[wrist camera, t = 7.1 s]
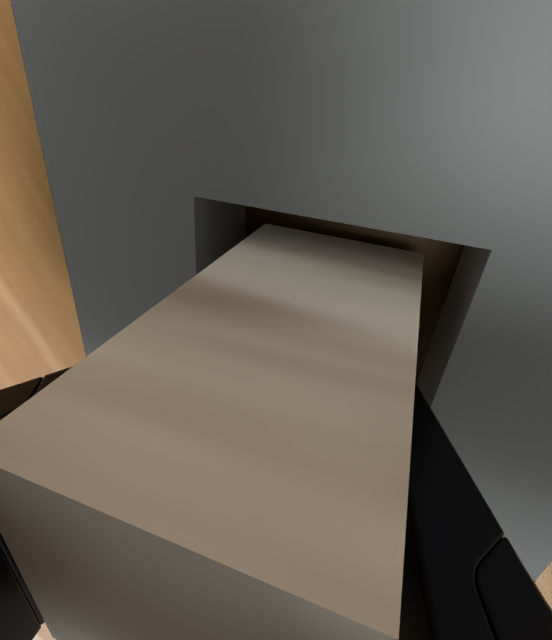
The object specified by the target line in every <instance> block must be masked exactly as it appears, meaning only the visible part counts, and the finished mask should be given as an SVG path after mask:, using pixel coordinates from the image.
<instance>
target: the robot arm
mask: <svg viewBox="0 0 552 640" xmlns="http://www.w3.org/2000/svg"><path fill="white" fill-rule="evenodd" d="M70 368H72V367H70ZM70 368H67V369H64V370H60V371H57V372H54V373H51V374H48V375H45V376H44V378H42V377H39V378H36V379H33V380H30V381H27V382H24V383H21V384H17V385H14V386H11V387H8V388H4V389H1V390H0V420H2V419H3V418H4V417H6V416H7V415H9V414H10V413H11V412H13V411H14V410H15V409H17V408H18V407H19V406H21V405H22V404H23V403H25V402H26V401H27V400H29V399H30V398H31V397H33V396H34V395H35V394H37V393H38V392H39V391H41V390H42V389H43V388H45V387H46V386H48V385H49V384H50V383H52V382H53V381H54V380H56V379H57V378H58V377H60V376H61V375H62V374H64V373H65V372H66V371H68V370H69V369H70ZM504 535H505V534H504V531H503V530H502V528H501V526H500V525H499V523H498V521H497V519H496V518H495V516H494V514H493V513H492V511H491V509H490V508H489V506H488V504H487V503H486V501H485V499H484V497H483V496H482V494H481V492H480V491H479V489H478V487H477V486H476V484H475V482H474V480H473V479H472V477H471V475H470V474H469V472H468V470H467V469H466V467H465V465H464V463H463V462H462V460H461V458H460V457H459V455H458V453H457V452H456V450H455V448H454V447H453V445H452V443H451V441H450V440H449V438H448V436H447V435H446V433H445V431H444V430H443V428H442V426H441V424H440V423H439V421H438V419H437V418H436V416H435V414H434V413H433V411H432V409H431V407H430V406H429V404H428V402H427V401H426V399H425V397H424V396H423V394H422V392H421V390H420V389H419V387H418V386H417V385H415V395H414V410H413V425H412V441H411V456H410V472H409V487H408V503H407V518H406V533H405V549H404V564H403V580H402V595H401V611H400V626H399V640H552V609H551V608H550V606H549V605H548V603H547V602H546V600H545V599H544V597H543V595H542V594H541V592H540V591H539V589H538V587H537V586H536V584H535V582H534V581H533V579H532V578H531V576H530V574H529V573H528V571H527V570H526V568H525V566H524V565H523V563H522V561H521V560H520V558H519V556H518V555H517V553H516V551H515V550H514V548H513V546H512V545H511V543H510V541H509V539H508V538H506V537H504ZM44 622H45V621H44V619H43V617H42V615H41V613H40V611H39V609H38V607H37V605H36V603H35V601H34V599H33V597H32V595H31V593H30V591H29V589H28V587H27V585H26V583H25V581H24V579H23V577H22V575H21V573H20V571H19V569H18V567H17V565H16V563H15V561H14V559H13V557H12V555H11V553H10V551H9V549H8V547H7V545H6V543H5V541H4V539H3V537H2V535H1V533H0V640H32V639H33V638H34V637H35V635H36V634H37V632H38V631H39V629H40V628H41V625H40V624H43V623H44Z"/></svg>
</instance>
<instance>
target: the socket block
mask: <svg viewBox="0 0 552 640" xmlns="http://www.w3.org/2000/svg"><path fill="white" fill-rule="evenodd" d="M11 5H12V9H13V14H14V19H15V23H16V28H17V33H18V38H19V42H20V47H21V52H22V56H23V61H24V66H25V70H26V75H27V80H28V85H29V89H30V94H31V99H32V103H33V108H34V113H35V118H36V122H37V127H38V132H39V136H40V141H41V146H42V151H43V155H44V160H45V165H46V169H47V174H48V179H49V184H50V188H51V193H52V198H53V202H54V207H55V212H56V216H57V221H58V226H59V231H60V235H61V240H62V245H63V249H64V254H65V259H66V264H67V268H68V273H69V278H70V282H71V287H72V292H73V297H74V301H75V306H76V311H77V315H78V320H79V325H80V330H81V334H82V339H83V344H84V348H85V353H86V357H87V356H88V355H89V354H91V353H92V352H93V351H95V350H96V349H97V348H99V347H100V346H101V345H103V344H104V343H105V342H107V341H108V340H109V339H111V338H112V337H113V336H115V335H116V334H117V333H119V332H120V331H122V330H123V329H124V328H126V327H127V326H128V325H130V324H131V323H132V322H134V321H135V320H136V319H138V318H139V317H140V316H142V315H143V314H144V313H146V312H147V311H148V310H150V309H151V308H152V307H154V306H155V305H156V304H158V303H159V302H161V301H162V300H163V299H165V298H166V297H167V296H169V295H170V294H171V293H173V292H174V291H175V290H177V289H178V288H179V287H181V286H182V285H183V284H185V283H186V282H187V281H189V280H190V279H191V278H193V277H194V276H195V275H197V274H198V273H200V272H201V271H202V270H204V269H205V268H206V267H208V266H209V265H210V264H212V263H213V262H214V261H216V260H217V259H218V258H220V257H221V256H222V255H224V254H225V253H226V252H228V251H229V250H230V249H232V248H233V247H235V246H236V245H237V244H239V243H240V242H241V241H243V240H244V239H245V230H246V206H250V207H256V208H261V209H267V210H272V211H278V212H283V213H289V214H294V215H300V216H306V217H311V218H317V219H322V220H328V221H333V222H339V223H344V224H350V225H355V226H361V227H367V228H372V229H378V230H383V231H389V232H394V233H400V234H405V235H411V236H416V237H422V238H428V239H433V240H439V241H444V242H450V243H455V244H461V245H464V248H463V251H462V254H461V256H460V259H459V262H458V265H457V268H456V271H455V274H454V277H453V279H452V282H451V285H450V288H449V291H448V294H447V297H446V300H445V302H444V305H443V308H442V311H441V314H440V317H439V320H438V323H437V325H436V328H435V331H434V334H433V337H432V340H431V343H430V346H429V348H428V351H427V354H426V357H425V360H424V363H423V366H422V369H421V371H420V374H419V377H418V380H417V383H416V385H417V386H418V387H419V389H420V390H421V392H422V394H423V396H424V397H425V399H426V401H427V402H428V404H429V406H430V407H431V409H432V411H433V413H434V414H435V416H436V418H437V419H438V421H439V423H440V424H441V426H442V428H443V430H444V431H445V433H446V435H447V436H448V438H449V440H450V441H451V443H452V445H453V447H454V448H455V450H456V452H457V453H458V455H459V457H460V458H461V460H462V462H463V463H464V465H465V467H466V469H467V470H468V472H469V474H470V475H471V477H472V479H473V480H474V482H475V484H476V486H477V487H478V489H479V491H480V492H481V494H482V496H483V497H484V499H485V501H486V503H487V504H488V506H489V508H490V509H491V511H492V513H493V514H494V516H495V518H496V519H497V521H498V523H499V525H500V526H501V528H502V530H503V531H504V534H505V535H504V537H506V538H508V539H509V541H510V543H511V545H512V546H513V548H514V550H515V551H516V553H517V555H518V556H519V558H520V560H521V561H522V563H523V565H524V566H525V568H526V570H527V571H528V573H529V574H530V576H531V578H532V579H533V581H534V582H535V581H536V579H537V578H538V577H539V576H540V575H541V573H542V572H543V571H544V570H545V569H546V568H547V566H548V565H549V564H550V563H551V562H552V0H11Z"/></svg>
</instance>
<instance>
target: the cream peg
mask: <svg viewBox="0 0 552 640" xmlns="http://www.w3.org/2000/svg"><path fill="white" fill-rule="evenodd" d="M423 256H424V254H423V253H418V252H412V251H407V250H402V249H397V248H391V247H386V246H381V245H375V244H370V243H365V242H360V241H354V240H349V239H344V238H339V237H333V236H328V235H323V234H317V233H312V232H307V231H302V230H296V229H291V228H286V227H281V226H275V225H270V224H264V225H263V226H261V227H260V228H259V229H257V230H256V231H255V232H253V233H252V234H251V235H249V236H248V237H247V238H245V239H244V240H243V241H241V242H240V243H239V244H237V245H236V246H235V247H233V248H232V249H230V250H229V251H228V252H226V253H225V254H224V255H222V256H221V257H220V258H218V259H217V260H216V261H214V262H213V263H212V264H210V265H209V266H208V267H206V268H205V269H204V270H202V271H201V272H200V273H198V274H197V275H195V276H194V277H193V278H191V279H190V280H189V281H187V282H186V283H185V284H183V285H182V286H181V287H179V288H178V289H177V290H175V291H174V292H173V293H171V294H170V295H169V296H167V297H166V298H165V299H163V300H162V301H161V302H159V303H158V304H156V305H155V306H154V307H152V308H151V309H150V310H148V311H147V312H146V313H144V314H143V315H142V316H140V317H139V318H138V319H136V320H135V321H134V322H132V323H131V324H130V325H128V326H127V327H126V328H124V329H123V330H122V331H120V332H119V333H117V334H116V335H115V336H113V337H112V338H111V339H109V340H108V341H107V342H105V343H104V344H103V345H101V346H100V347H99V348H97V349H96V350H95V351H93V352H92V353H91V354H89V355H88V356H87V357H85V358H84V359H82V360H81V361H80V362H78V363H77V364H76V365H74V366H73V367H72V368H70V369H69V370H68V371H66V372H65V373H64V374H62V375H61V376H60V377H58V378H57V379H56V380H54V381H53V382H52V383H50V384H49V385H48V386H46V387H45V388H43V389H42V390H41V391H39V392H38V393H37V394H35V395H34V396H33V397H31V398H30V399H29V400H27V401H26V402H25V403H23V404H22V405H21V406H19V407H18V408H17V409H15V410H14V411H13V412H11V413H10V414H9V415H7V416H6V417H4V418H3V419H2V420H0V533H1V535H2V537H3V539H4V541H5V543H6V545H7V547H8V549H9V551H10V553H11V555H12V557H13V559H14V561H15V563H16V565H17V567H18V569H19V571H20V573H21V575H22V577H23V579H24V581H25V583H26V585H27V587H28V589H29V591H30V593H31V595H32V597H33V599H34V601H35V603H36V605H37V607H38V609H39V611H40V613H41V615H42V617H43V619H44V621H45V623H46V625H47V627H48V629H49V631H50V633H51V635H52V637H53V638H55V639H57V640H399V626H400V611H401V595H402V580H403V564H404V549H405V533H406V518H407V503H408V487H409V472H410V456H411V441H412V425H413V410H414V395H415V379H416V364H417V348H418V333H419V318H420V302H421V287H422V271H423Z"/></svg>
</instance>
